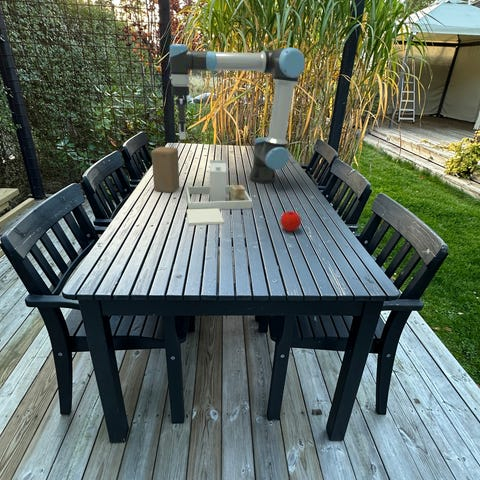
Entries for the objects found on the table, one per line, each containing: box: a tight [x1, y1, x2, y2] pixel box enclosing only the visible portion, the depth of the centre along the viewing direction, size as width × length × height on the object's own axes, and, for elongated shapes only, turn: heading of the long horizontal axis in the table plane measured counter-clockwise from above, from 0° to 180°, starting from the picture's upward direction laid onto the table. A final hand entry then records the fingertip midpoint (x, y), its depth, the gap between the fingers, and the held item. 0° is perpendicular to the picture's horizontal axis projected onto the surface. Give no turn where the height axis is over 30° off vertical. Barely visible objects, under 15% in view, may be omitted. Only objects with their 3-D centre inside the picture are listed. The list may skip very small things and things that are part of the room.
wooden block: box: [150, 146, 180, 194], centre depth 164 cm, size 10×10×20 cm
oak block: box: [229, 184, 246, 201], centre depth 153 cm, size 5×5×8 cm
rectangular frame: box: [185, 184, 253, 211], centre depth 157 cm, size 28×22×4 cm
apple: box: [280, 211, 302, 232], centre depth 131 cm, size 8×8×7 cm
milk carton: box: [209, 159, 227, 202], centre depth 154 cm, size 7×7×19 cm
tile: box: [186, 208, 225, 226], centre depth 140 cm, size 14×14×1 cm
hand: (182, 136), depth 155 cm, fingers open, 13 cm apart
